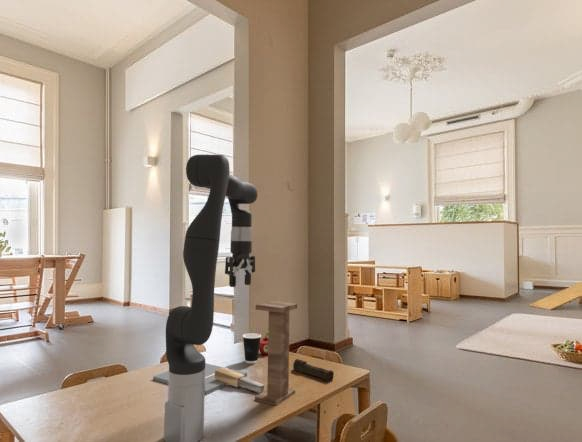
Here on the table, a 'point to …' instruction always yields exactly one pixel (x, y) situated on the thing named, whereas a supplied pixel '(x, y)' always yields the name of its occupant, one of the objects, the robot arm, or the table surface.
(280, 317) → the walnut stand
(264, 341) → the apple
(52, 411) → the table surface
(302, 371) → the hand tool
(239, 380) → the wood and grey bar
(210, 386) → the flat grey board
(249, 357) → the dixie cup
